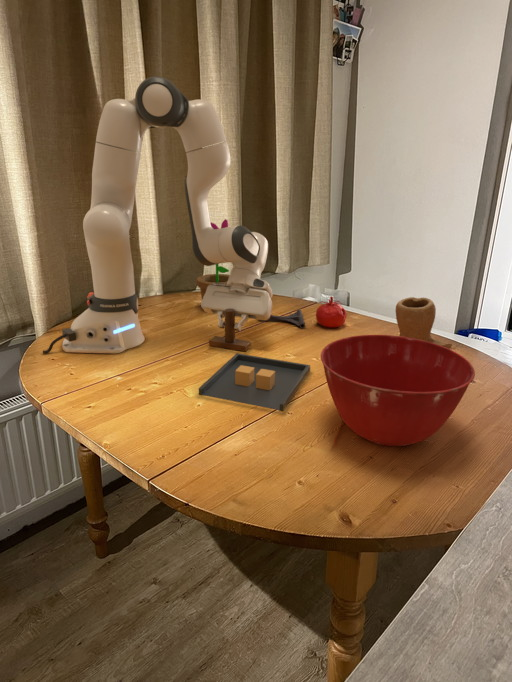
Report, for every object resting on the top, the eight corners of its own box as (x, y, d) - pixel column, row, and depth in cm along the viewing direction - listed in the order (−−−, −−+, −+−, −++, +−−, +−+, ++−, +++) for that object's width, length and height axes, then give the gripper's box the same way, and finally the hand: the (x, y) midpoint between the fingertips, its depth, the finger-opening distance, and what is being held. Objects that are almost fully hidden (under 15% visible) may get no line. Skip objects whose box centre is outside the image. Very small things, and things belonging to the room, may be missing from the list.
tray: (236, 361, 132) (236, 353, 131) (309, 373, 126) (310, 365, 125) (198, 397, 113) (198, 388, 112) (282, 414, 106) (283, 404, 106)
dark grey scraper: (257, 313, 169) (257, 305, 168) (301, 314, 169) (301, 306, 168) (257, 328, 156) (257, 320, 155) (305, 329, 156) (305, 320, 155)
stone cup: (382, 349, 141) (388, 298, 135) (401, 338, 149) (407, 290, 144) (434, 364, 132) (443, 310, 126) (451, 351, 140) (460, 300, 134)
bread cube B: (240, 378, 121) (240, 365, 119) (254, 380, 120) (254, 367, 118) (235, 384, 118) (235, 370, 116) (248, 386, 116) (249, 373, 115)
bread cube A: (260, 381, 119) (261, 368, 118) (274, 384, 118) (275, 370, 117) (255, 388, 116) (255, 374, 115) (269, 390, 115) (270, 376, 113)
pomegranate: (321, 331, 154) (322, 302, 151) (310, 321, 163) (311, 293, 160) (350, 329, 156) (353, 300, 153) (338, 319, 165) (340, 291, 162)
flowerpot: (244, 304, 179) (245, 219, 168) (226, 315, 167) (225, 224, 156) (209, 299, 184) (208, 216, 173) (189, 310, 172) (186, 221, 161)
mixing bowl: (335, 386, 119) (340, 325, 113) (463, 410, 109) (475, 344, 103) (298, 448, 95) (302, 374, 89) (459, 486, 84) (474, 405, 79)
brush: (209, 348, 140) (208, 309, 136) (215, 343, 143) (214, 305, 139) (245, 354, 136) (245, 314, 132) (250, 349, 140) (251, 310, 136)
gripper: (205, 276, 143) (191, 318, 138) (273, 283, 136) (260, 328, 131) (212, 287, 148) (198, 328, 143) (278, 295, 141) (265, 338, 136)
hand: (228, 328), depth 137 cm, fingers open, 3 cm apart
